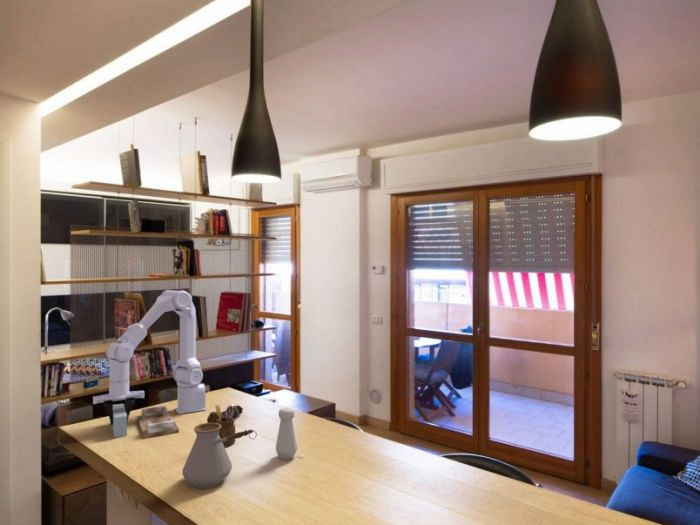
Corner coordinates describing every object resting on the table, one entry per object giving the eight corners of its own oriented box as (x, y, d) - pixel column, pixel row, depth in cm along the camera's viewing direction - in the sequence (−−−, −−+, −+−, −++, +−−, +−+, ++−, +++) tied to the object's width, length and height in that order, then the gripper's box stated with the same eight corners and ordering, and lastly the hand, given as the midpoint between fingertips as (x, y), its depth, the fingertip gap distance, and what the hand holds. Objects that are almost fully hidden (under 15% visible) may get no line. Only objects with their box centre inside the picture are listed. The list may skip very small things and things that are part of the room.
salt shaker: (293, 462, 121) (293, 412, 121) (272, 460, 122) (272, 411, 122) (299, 453, 127) (299, 406, 127) (280, 452, 128) (280, 405, 128)
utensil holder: (239, 441, 135) (239, 401, 136) (224, 449, 130) (225, 406, 130) (224, 438, 138) (224, 398, 138) (209, 445, 133) (209, 403, 133)
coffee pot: (171, 483, 109) (172, 420, 109) (210, 466, 119) (211, 408, 119) (234, 509, 97) (234, 438, 98) (271, 487, 107) (271, 423, 107)
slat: (123, 421, 153) (123, 403, 154) (126, 435, 140) (127, 416, 141) (111, 423, 152) (111, 405, 152) (114, 437, 139) (114, 417, 139)
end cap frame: (168, 414, 161) (168, 404, 161) (178, 432, 143) (178, 421, 143) (137, 419, 156) (137, 409, 156) (143, 438, 138) (143, 426, 138)
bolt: (241, 420, 161) (215, 433, 146) (230, 412, 162) (204, 424, 148) (248, 406, 160) (223, 418, 146) (237, 398, 161) (212, 409, 147)
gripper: (93, 385, 139) (93, 430, 139) (145, 380, 146) (145, 422, 146) (93, 381, 145) (92, 424, 145) (143, 375, 153) (142, 416, 152)
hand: (119, 423), depth 146 cm, fingers closed on slat, 3 cm apart
